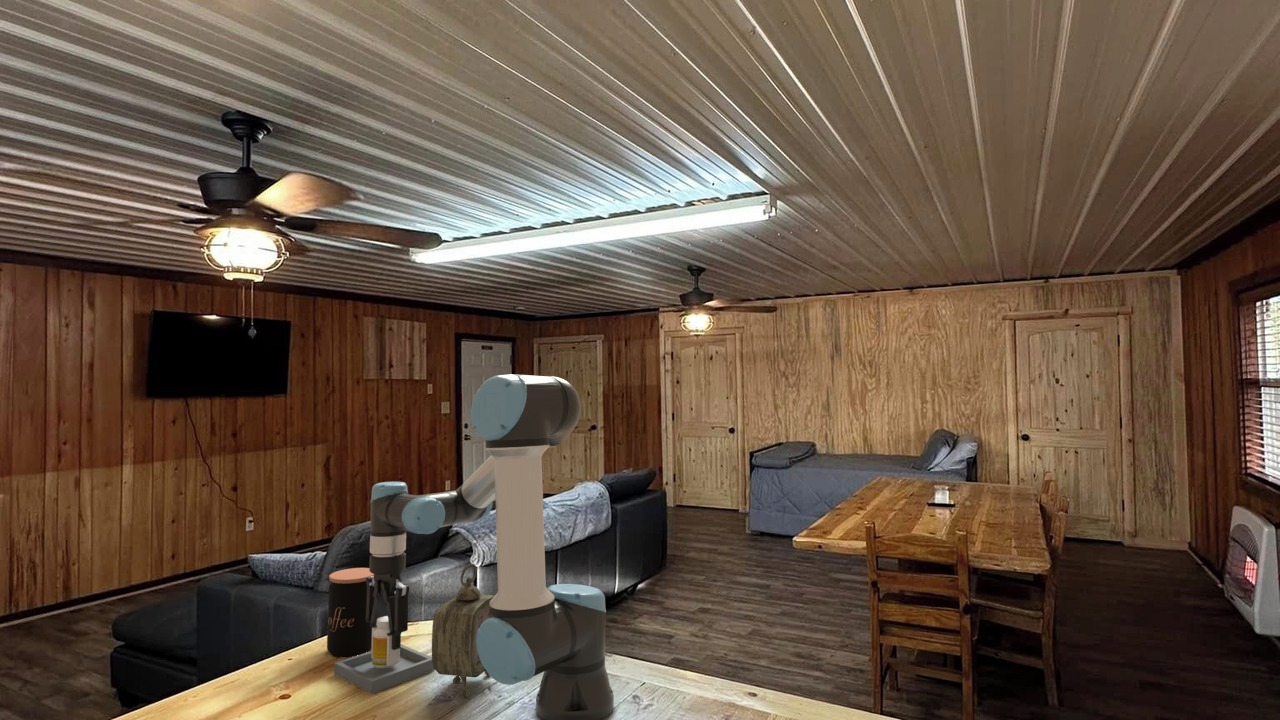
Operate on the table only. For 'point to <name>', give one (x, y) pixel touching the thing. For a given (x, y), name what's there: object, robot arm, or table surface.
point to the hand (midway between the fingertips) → (385, 659)
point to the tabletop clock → (460, 633)
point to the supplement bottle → (380, 643)
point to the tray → (383, 670)
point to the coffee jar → (348, 613)
